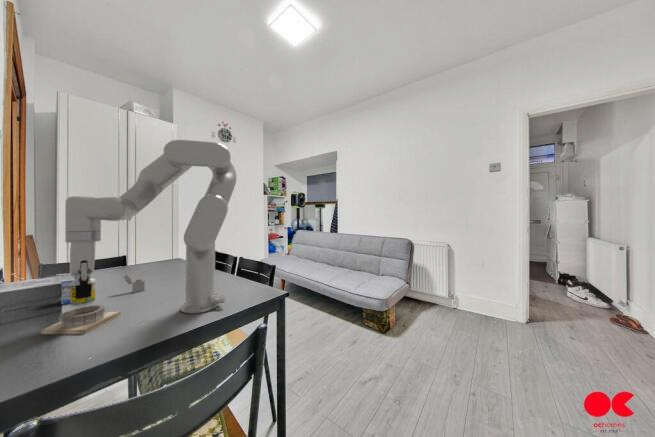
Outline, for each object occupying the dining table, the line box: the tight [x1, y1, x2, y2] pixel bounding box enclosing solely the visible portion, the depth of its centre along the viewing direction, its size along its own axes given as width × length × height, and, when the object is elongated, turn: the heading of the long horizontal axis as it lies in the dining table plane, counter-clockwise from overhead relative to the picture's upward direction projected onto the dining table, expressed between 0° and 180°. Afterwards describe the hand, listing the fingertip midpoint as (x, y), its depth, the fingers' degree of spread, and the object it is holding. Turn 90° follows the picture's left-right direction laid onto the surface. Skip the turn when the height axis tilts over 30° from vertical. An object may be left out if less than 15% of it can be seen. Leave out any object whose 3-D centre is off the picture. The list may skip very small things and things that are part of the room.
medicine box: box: [60, 278, 75, 305], centre depth 90 cm, size 8×4×9 cm, turn 131°
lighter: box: [122, 274, 146, 293], centre depth 100 cm, size 7×2×8 cm, turn 132°
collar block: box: [40, 304, 122, 335], centre depth 72 cm, size 12×12×4 cm
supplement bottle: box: [69, 272, 96, 308], centre depth 71 cm, size 5×5×10 cm
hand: (83, 294), depth 72 cm, fingers closed on supplement bottle, 5 cm apart
